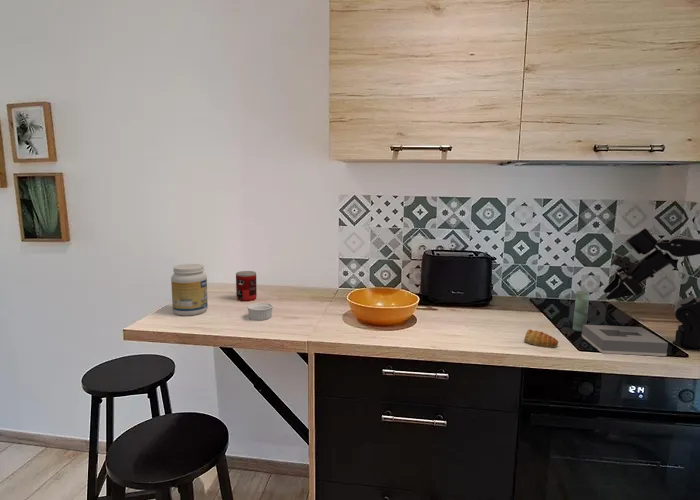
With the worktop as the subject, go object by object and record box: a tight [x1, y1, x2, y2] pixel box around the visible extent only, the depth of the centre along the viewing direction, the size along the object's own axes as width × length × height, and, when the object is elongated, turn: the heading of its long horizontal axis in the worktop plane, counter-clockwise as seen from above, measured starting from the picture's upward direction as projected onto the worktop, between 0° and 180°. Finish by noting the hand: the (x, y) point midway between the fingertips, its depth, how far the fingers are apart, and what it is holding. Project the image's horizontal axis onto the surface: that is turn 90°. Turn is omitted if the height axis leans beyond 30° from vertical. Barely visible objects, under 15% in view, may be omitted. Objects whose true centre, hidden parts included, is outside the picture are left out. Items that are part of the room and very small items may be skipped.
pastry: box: [523, 329, 559, 348], centre depth 139 cm, size 9×7×4 cm
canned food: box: [235, 270, 258, 303], centre depth 181 cm, size 8×8×11 cm
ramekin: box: [246, 302, 274, 322], centre depth 159 cm, size 9×9×4 cm
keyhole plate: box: [581, 324, 669, 357], centre depth 138 cm, size 18×14×4 cm
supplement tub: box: [170, 263, 209, 317], centre depth 163 cm, size 12×12×17 cm
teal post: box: [572, 290, 591, 333], centre depth 151 cm, size 4×4×13 cm
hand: (605, 295), depth 148 cm, fingers open, 9 cm apart
